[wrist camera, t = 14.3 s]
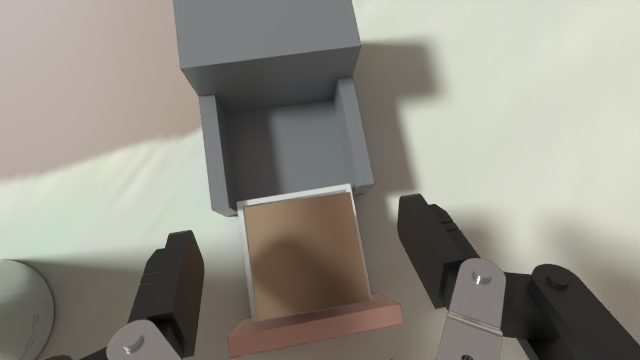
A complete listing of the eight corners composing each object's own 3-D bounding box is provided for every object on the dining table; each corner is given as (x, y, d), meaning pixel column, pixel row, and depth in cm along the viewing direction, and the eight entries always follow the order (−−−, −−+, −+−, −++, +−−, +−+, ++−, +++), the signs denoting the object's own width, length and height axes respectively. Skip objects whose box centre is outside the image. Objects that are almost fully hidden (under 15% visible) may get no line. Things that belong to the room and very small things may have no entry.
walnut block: (276, 290, 27) (257, 320, 15) (267, 226, 28) (244, 207, 16) (340, 279, 28) (369, 300, 16) (329, 216, 28) (350, 191, 17)
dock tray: (382, 308, 28) (403, 323, 22) (244, 335, 27) (229, 358, 22) (358, 187, 30) (372, 171, 24) (228, 208, 29) (210, 197, 23)
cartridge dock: (363, 193, 31) (388, 170, 22) (225, 216, 30) (194, 202, 21) (333, 42, 34) (344, -31, 25) (206, 58, 33) (171, -12, 24)
